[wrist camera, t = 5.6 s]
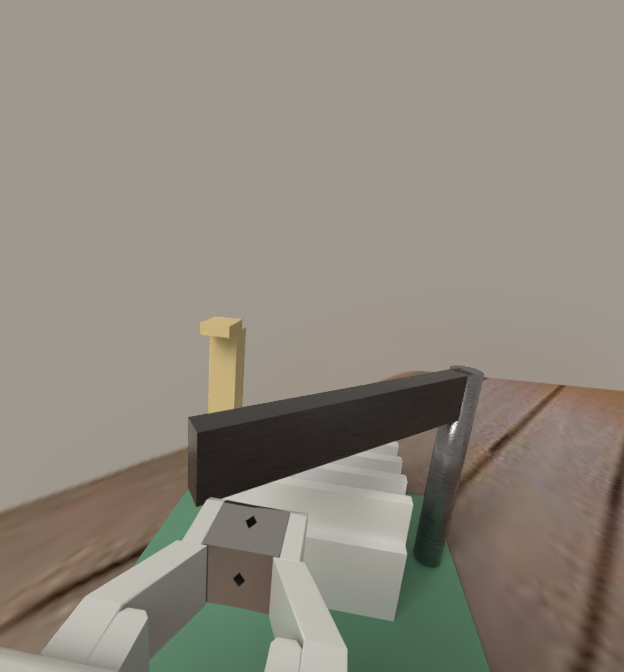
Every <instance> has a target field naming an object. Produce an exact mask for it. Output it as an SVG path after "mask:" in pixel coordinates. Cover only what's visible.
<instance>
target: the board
mask: <svg viewBox="0 0 624 672" xmlns="http://www.w3.org/2000/svg"><path fill="white" fill-rule="evenodd" d="M200 335H208V336H210V353H209V354H210V355H209V397H208V413H214V412H219V411H225V410H230V409H236V408H241V407H242V396H243V376H244V356H245V335H246V327H242V319H235V318H227V317H217V316H215V317H213V318H211V319H208V320H206V321H203V322H201V323H200ZM398 448H399V447H398V443H397V442H391V443H388V444H385V445H382V446H379V447H376V448H373V449H370V450H367V451H364V452H361V453H358V454H355V455H352V456H349V457H346V458H343V459H340V460H337V461H334V462H331V463H328V464H325V465H322V466H319V467H316V468H313V469H310V470H307V471H304V472H301V473H298V474H295V475H292V476H289V477H286V478H283V479H280V480H277V481H274V482H271V483H268V484H265V485H262V486H259V487H256V488H253V489H250V490H247V491H244V492H241V493H238V494H235V495H232V496H229V497H226V498H223V500H230V501H235V502H241V503H246V504H251V505H256V506H263V507H269V508H276V509H282V510H289V511H298V512H305V513H308V524H307V533H306V542H305V551H304V560H303V562H304V563H306V564H307V566H308V569H309V571H310V573H311V575H312V577H313V579H314V581H315V583H316V585H317V587H318V589H319V591H320V593H321V596H322V598H323V600H324V602H325V604H326V606H327V608H328V610H329V612H330V614H331V616H332V618H333V620H334V623H335V625H336V627H337V629H338V631H339V633H340V635H341V637H342V639H343V641H344V643H345V645H346V648H347V672H490V669H489V666H488V663H487V660H486V657H485V654H484V651H483V648H482V645H481V642H480V639H479V636H478V633H477V630H476V628H475V625H474V622H473V619H472V616H471V613H470V610H469V607H468V604H467V601H466V598H465V595H464V592H463V589H462V586H461V583H460V580H459V577H458V574H457V571H456V568H455V565H454V562H453V559H452V556H451V553H450V551H449V548H448V545H447V542H445V546H444V551H443V555H442V559H441V563H440V565H439V566H437V567H428V566H425V565H423V564H421V563H420V562H419V561H418V560H417V559H416V558H415V556H414V554H413V547H414V542H415V537H416V532H417V527H418V523H419V518H420V513H421V508H422V503H423V498H424V496H421V495H415V494H408V493H405V492H406V487H407V478H406V475H403V474H401V469H402V464H403V462H402V458H401V457H397V453H398ZM202 507H203V505H202V506H199V507H196V506H195V503H194V501H193V498H192V496H191V493H190V491H189V489H188V490H187V491H186V493H185V494H184V495H183V497H182V498H181V500H180V501H179V502H178V504H177V505H176V507H175V508H174V510H173V511H172V512H171V514H170V515H169V517H168V518H167V519H166V521H165V522H164V524H163V525H162V526H161V528H160V529H159V531H158V532H157V533H156V535H155V536H154V538H153V539H152V541H151V542H150V543H149V545H148V546H147V548H146V549H145V550H144V552H143V553H142V555H141V556H140V557H139V559H138V560H137V562H136V563H135V565H134V566H136V565H137V564H139V563H140V562H142V561H144V560H145V559H147V558H149V557H150V556H152V555H153V554H155V553H157V552H158V551H160V550H162V549H163V548H165V547H166V546H168V545H170V544H171V543H173V542H175V541H176V540H179V541H182V540H183V538H184V537H185V535H186V533H187V532H188V530H189V528H190V527H191V525H192V523H193V522H194V520H195V518H196V517H197V515H198V513H199V512H200V510H201V508H202ZM134 566H133V567H134ZM273 640H275V639H274V635H273V631H272V627H271V623H270V619H269V615H268V614H264V613H260V612H255V611H251V610H246V609H242V608H238V607H231V606H225V605H219V604H212V603H206V605H205V606H204V607H203V608H202V609H201V610H200V611H199V612H198V613H197V614H196V615H195V616H194V617H193V618H192V619H191V620H190V621H189V622H188V623H187V624H186V625H185V626H184V627H183V628H182V629H181V630H180V631H179V632H178V633H177V634H176V635H175V636H174V637H173V638H172V639H171V640H170V641H169V642H168V643H167V644H166V645H165V646H164V647H163V648H162V649H161V650H160V651H159V652H158V653H156V654H155V655H154V656H153V657H152V658H151V659H150V660H149V671H150V672H264V671H265V667H266V662H267V658H268V653H269V649H270V644H271V642H272V641H273Z"/></svg>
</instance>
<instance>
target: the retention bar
mask: <svg viewBox="0 0 624 672" xmlns="http://www.w3.org/2000/svg"><path fill="white" fill-rule="evenodd" d="M483 377H484V373H483V372H481V371H479V370H477V369H473V368H470V367H465V366H451V367H450V369H449V370H444V371H438V372H433V373H427V374H422V375H416V376H411V377H405V378H400V379H394V380H389V381H383V382H378V383H372V384H367V385H362V386H356V387H351V388H346V389H340V390H335V391H329V392H323V393H318V394H313V395H307V396H301V397H296V398H291V399H285V400H279V401H274V402H269V403H263V404H258V405H252V406H247V407H241V408H236V409H230V410H225V411H219V412H214V413H208V414H203V415H197V416H192V417H189V418H188V489H189V491H190V493H191V496H192V498H193V501H194V503H195V506H196V507H199V506H202V505H204V503H205V502H206V500H207V499H209V498H210V497H213V498H218V499H223V498H226V497H229V496H232V495H235V494H238V493H241V492H244V491H247V490H250V489H253V488H256V487H259V486H262V485H265V484H268V483H271V482H274V481H277V480H280V479H283V478H286V477H289V476H292V475H295V474H298V473H301V472H304V471H307V470H310V469H313V468H316V467H319V466H322V465H325V464H328V463H331V462H334V461H337V460H340V459H343V458H346V457H349V456H352V455H355V454H358V453H361V452H364V451H367V450H370V449H373V448H376V447H379V446H382V445H385V444H388V443H391V442H394V441H397V440H400V439H403V438H406V437H409V436H412V435H415V434H418V433H421V432H424V431H427V430H430V429H433V428H436V427H438V429H437V434H436V439H435V444H434V449H433V454H432V459H431V464H430V469H429V474H428V478H427V483H426V488H425V493H424V498H423V503H422V508H421V513H420V518H419V523H418V527H417V532H416V537H415V542H414V547H413V554H414V556H415V558H416V559H417V560H418V561H419V562H420V563H421V564H423V565H425V566H428V567H437V566H439V565H440V563H441V559H442V555H443V551H444V546H445V542H446V538H447V533H448V529H449V525H450V520H451V516H452V512H453V507H454V503H455V499H456V494H457V490H458V486H459V481H460V477H461V473H462V468H463V464H464V460H465V455H466V451H467V447H468V442H469V438H470V434H471V429H472V425H473V421H474V416H475V412H476V408H477V403H478V399H479V395H480V390H481V386H482V382H483Z"/></svg>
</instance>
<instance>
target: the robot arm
mask: <svg viewBox="0 0 624 672" xmlns="http://www.w3.org/2000/svg"><path fill="white" fill-rule="evenodd" d="M307 524H308V513H305V512H298V511H289V510H282V509H276V508H269V507H263V506H256V505H251V504H246V503H241V502H235V501H230V500H223V499H218V498H213V497H210V498H209V499H207V500H206V502H205V503H204V505H203V507H202V508H201V510H200V512H199V513H198V515H197V517H196V518H195V520H194V522H193V523H192V525H191V527H190V528H189V530H188V532H187V533H186V535H185V537H184V538H183V540H182V541H179V540H176V541H175V542H173V543H171V544H170V545H168V546H166V547H165V548H163V549H162V550H160V551H158V552H157V553H155V554H153V555H152V556H150V557H149V558H147V559H145V560H144V561H142V562H140V563H139V564H137V565H136V566H134V567H132V568H131V569H129V570H127V571H126V572H124V573H123V574H121V575H119V576H118V577H116V578H114V579H113V580H111V581H110V582H108V583H106V584H105V585H103V586H101V587H100V588H98V589H97V590H95V591H93V592H92V593H90V594H88V595H87V596H85V597H84V599H83V600H82V601H81V602H80V604H79V605H78V606H77V607H76V609H75V610H74V611H73V613H72V614H71V615H70V616H69V618H68V619H67V620H66V621H65V623H64V624H63V625H62V626H61V628H60V629H59V630H58V632H57V633H56V634H55V635H54V637H53V638H52V639H51V640H50V642H49V643H48V644H47V645H46V647H45V648H44V649H43V651H42V652H41V653H40V654H39V655H38V654H34V653H29V652H24V651H20V650H15V649H11V648H6V647H1V646H0V672H150V671H149V660H150V659H151V658H152V657H153V656H154V655H155V654H156V653H158V652H159V651H160V650H161V649H162V648H163V647H164V646H165V645H166V644H167V643H168V642H169V641H170V640H171V639H172V638H173V637H174V636H175V635H176V634H177V633H178V632H179V631H180V630H181V629H182V628H183V627H184V626H185V625H186V624H187V623H188V622H189V621H190V620H191V619H192V618H193V617H194V616H195V615H196V614H197V613H198V612H199V611H200V610H201V609H202V608H203V607H204V606H205V605H206V603H212V604H219V605H225V606H231V607H238V608H242V609H246V610H251V611H255V612H260V613H264V614H268V615H269V619H270V623H271V627H272V631H273V635H274V639H275V640H273V641H272V642H271V644H270V649H269V653H268V658H267V662H266V667H265V671H264V672H347V648H346V645H345V643H344V641H343V639H342V637H341V635H340V633H339V631H338V629H337V627H336V625H335V623H334V620H333V618H332V616H331V614H330V612H329V610H328V608H327V606H326V604H325V602H324V600H323V598H322V596H321V593H320V591H319V589H318V587H317V585H316V583H315V581H314V579H313V577H312V575H311V573H310V571H309V569H308V566H307V564H306V563H304V562H303V560H304V551H305V542H306V533H307Z"/></svg>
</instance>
